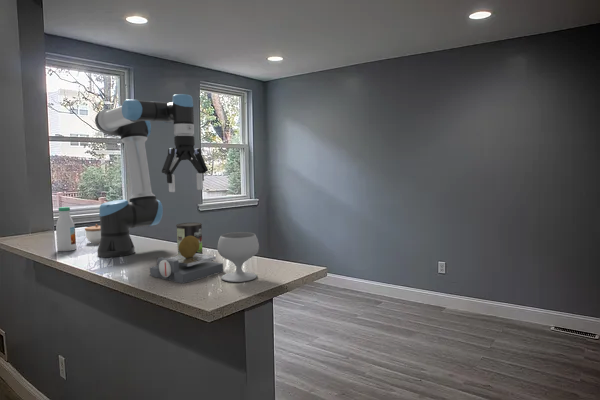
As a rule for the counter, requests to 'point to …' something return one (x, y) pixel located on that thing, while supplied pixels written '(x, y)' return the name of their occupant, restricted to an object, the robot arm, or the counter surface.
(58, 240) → the milk bottle
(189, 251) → the potato
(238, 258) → the chalice
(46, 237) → the counter surface
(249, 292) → the counter surface
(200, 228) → the coffee can
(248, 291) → the counter surface
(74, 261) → the counter surface
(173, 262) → the scale base
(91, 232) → the lidded jar
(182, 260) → the platform
